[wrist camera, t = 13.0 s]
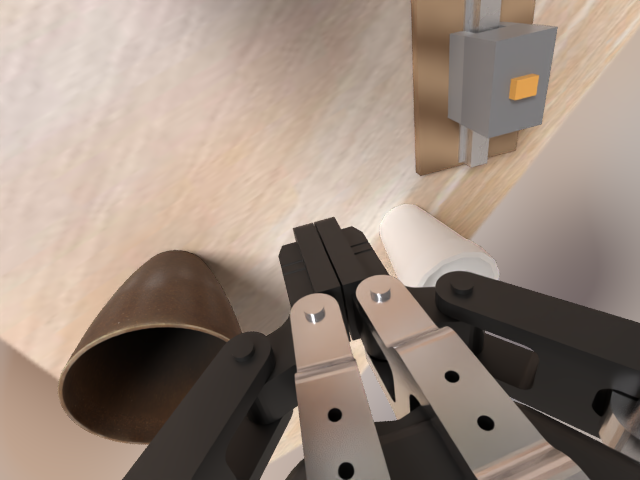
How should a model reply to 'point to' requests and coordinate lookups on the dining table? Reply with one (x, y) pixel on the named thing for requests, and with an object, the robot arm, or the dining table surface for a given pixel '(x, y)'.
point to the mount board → (446, 80)
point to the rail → (478, 18)
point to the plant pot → (147, 349)
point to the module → (500, 77)
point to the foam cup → (429, 248)
